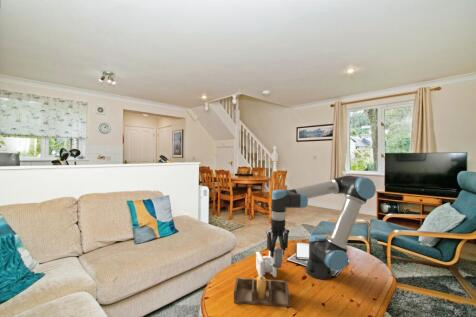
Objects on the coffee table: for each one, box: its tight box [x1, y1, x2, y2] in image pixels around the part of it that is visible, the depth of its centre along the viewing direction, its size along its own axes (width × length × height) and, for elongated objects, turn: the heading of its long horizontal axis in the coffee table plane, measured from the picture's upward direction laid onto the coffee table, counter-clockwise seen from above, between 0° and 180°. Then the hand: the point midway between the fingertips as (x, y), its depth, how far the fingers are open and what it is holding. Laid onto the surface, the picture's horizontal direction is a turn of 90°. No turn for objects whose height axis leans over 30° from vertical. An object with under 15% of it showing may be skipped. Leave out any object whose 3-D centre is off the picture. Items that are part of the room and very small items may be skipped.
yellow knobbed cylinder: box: [256, 275, 267, 299], centre depth 110 cm, size 5×5×10 cm
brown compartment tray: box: [233, 277, 291, 308], centre depth 112 cm, size 27×12×6 cm, turn 85°
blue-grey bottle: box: [273, 246, 282, 269], centre depth 118 cm, size 5×5×10 cm
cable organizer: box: [255, 250, 278, 278], centre depth 135 cm, size 15×11×12 cm
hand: (277, 261), depth 118 cm, fingers closed on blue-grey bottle, 4 cm apart
